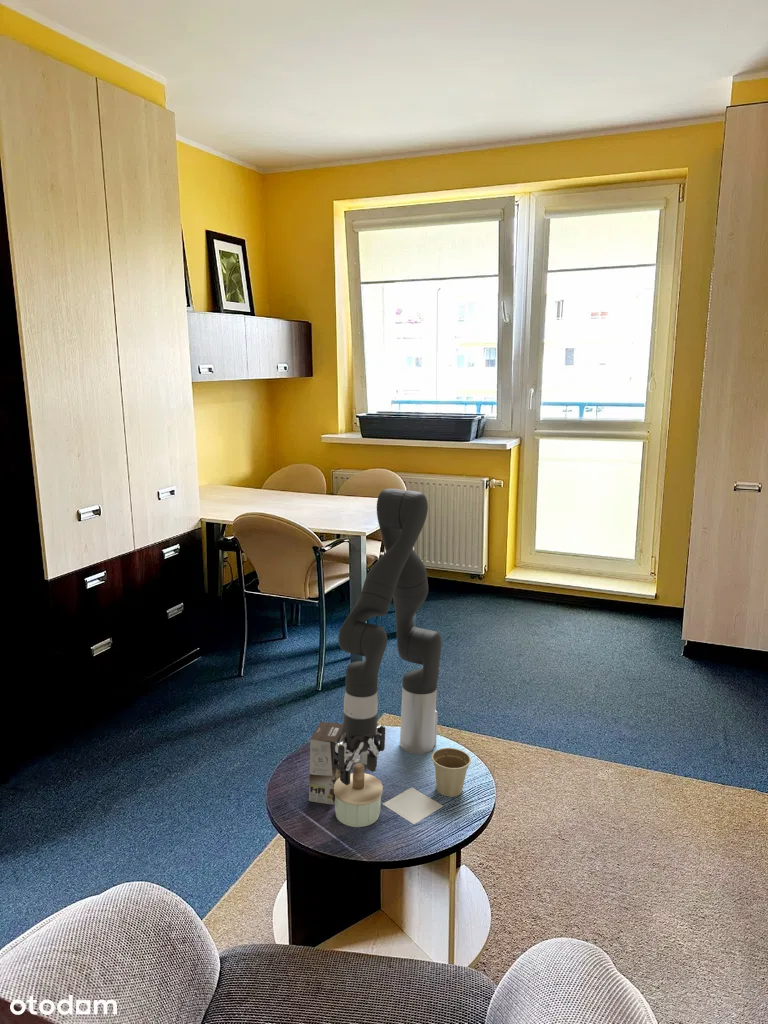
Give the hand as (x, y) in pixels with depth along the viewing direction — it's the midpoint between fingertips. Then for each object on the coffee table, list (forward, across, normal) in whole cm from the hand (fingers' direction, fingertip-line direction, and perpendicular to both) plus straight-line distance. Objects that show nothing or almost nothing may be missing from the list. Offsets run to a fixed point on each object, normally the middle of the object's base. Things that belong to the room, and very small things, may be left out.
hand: (358, 776), depth 157 cm
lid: (+3, 0, 0) cm, 3 cm away
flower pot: (+10, +23, -8) cm, 26 cm away
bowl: (+9, 0, 0) cm, 9 cm away
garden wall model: (+10, +14, +18) cm, 25 cm away
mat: (+9, +12, -6) cm, 16 cm away
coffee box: (+10, 0, +11) cm, 15 cm away
